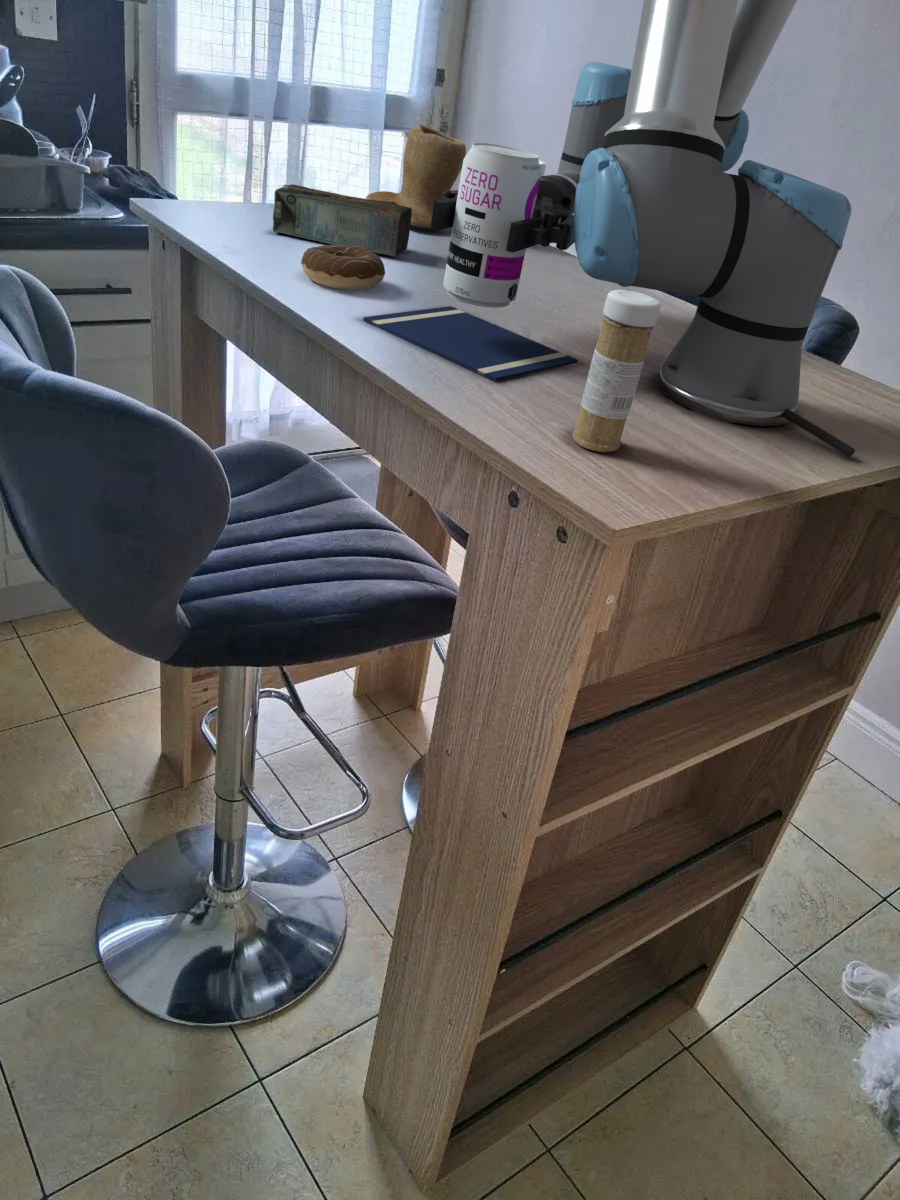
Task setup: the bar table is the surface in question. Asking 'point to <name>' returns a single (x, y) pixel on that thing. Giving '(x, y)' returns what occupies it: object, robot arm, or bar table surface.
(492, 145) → the white soda can
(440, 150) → the tan boot
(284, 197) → the beverage carton
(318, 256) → the donut
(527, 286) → the bar table surface
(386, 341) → the bar table surface
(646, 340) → the sprinkles bottle
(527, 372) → the tea towel
